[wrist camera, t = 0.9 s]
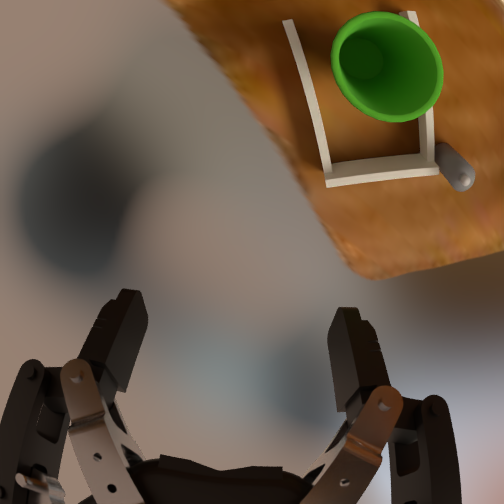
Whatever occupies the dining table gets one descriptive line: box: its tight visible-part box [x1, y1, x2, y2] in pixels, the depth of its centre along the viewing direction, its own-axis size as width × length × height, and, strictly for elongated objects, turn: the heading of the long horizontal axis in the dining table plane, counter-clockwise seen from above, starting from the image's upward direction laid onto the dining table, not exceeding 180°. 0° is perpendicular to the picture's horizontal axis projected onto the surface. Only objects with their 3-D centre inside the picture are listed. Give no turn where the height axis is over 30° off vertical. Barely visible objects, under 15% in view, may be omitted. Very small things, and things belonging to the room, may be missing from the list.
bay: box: [282, 11, 475, 191], centre depth 21 cm, size 20×18×7 cm
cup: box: [330, 11, 443, 122], centre depth 18 cm, size 9×9×11 cm
